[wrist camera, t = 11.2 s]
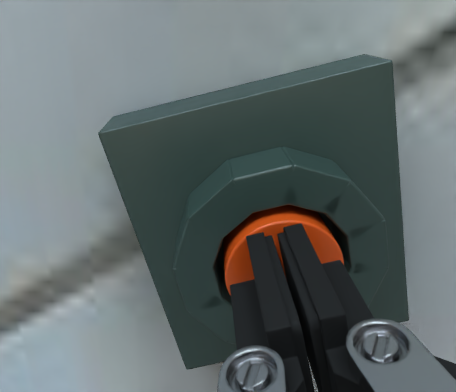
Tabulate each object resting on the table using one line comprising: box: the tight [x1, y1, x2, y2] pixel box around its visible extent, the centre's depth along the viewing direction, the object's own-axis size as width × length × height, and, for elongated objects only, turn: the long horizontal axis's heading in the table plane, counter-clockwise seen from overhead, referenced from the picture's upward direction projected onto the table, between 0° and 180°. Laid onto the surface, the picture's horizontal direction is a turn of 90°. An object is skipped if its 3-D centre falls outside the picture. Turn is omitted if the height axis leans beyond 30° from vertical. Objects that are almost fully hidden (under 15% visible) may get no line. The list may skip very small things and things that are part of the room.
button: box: [222, 205, 344, 296], centre depth 13 cm, size 4×4×2 cm
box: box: [98, 54, 409, 369], centre depth 14 cm, size 10×9×4 cm
